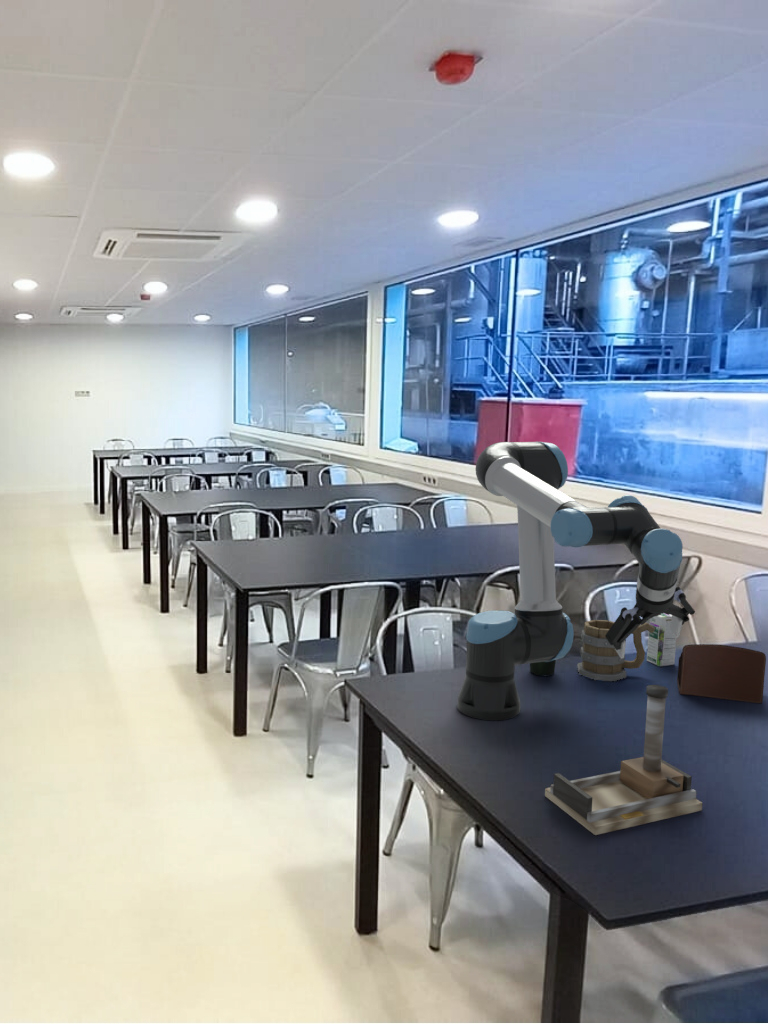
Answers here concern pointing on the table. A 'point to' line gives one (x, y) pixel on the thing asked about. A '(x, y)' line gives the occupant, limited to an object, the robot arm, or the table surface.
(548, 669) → the potion bottle
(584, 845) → the table surface
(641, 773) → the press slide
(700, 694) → the letter holder
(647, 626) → the tankard
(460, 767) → the table surface
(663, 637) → the syrup box
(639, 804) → the press bed
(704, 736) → the table surface
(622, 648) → the robot arm
